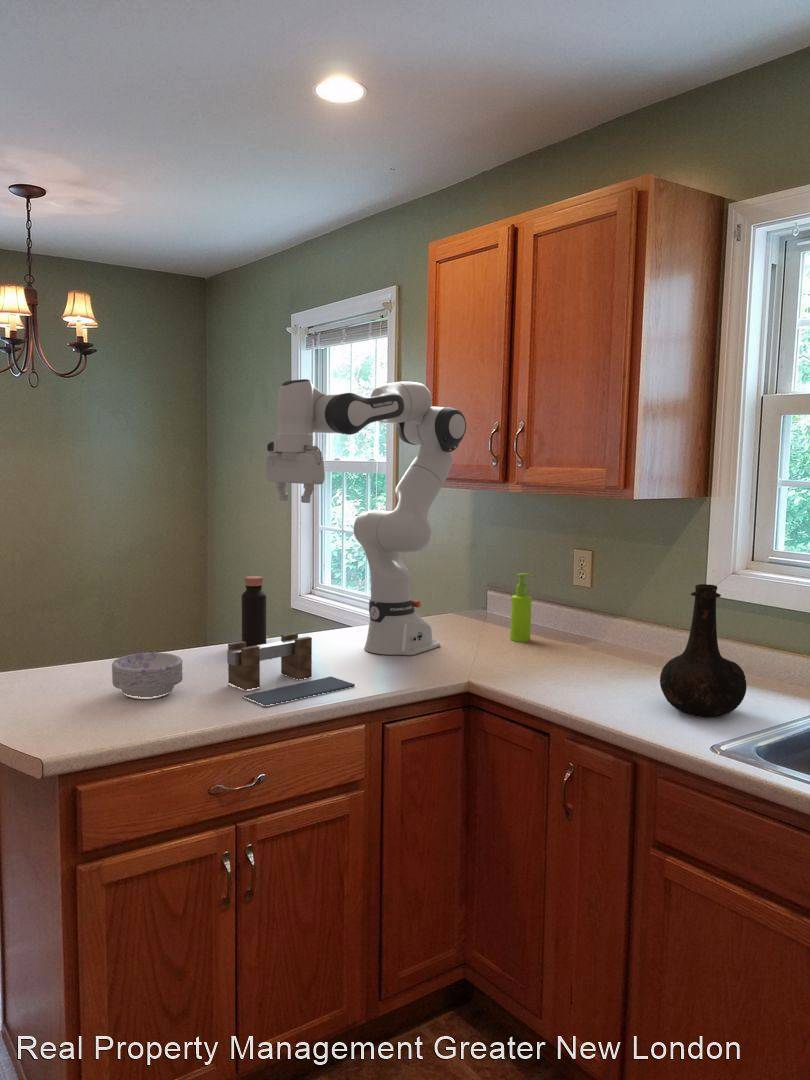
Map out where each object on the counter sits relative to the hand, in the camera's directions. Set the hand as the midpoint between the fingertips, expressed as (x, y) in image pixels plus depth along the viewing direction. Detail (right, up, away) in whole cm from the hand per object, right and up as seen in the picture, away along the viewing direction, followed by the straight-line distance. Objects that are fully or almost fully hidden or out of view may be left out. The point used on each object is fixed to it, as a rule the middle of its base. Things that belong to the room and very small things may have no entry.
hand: (294, 501), depth 206 cm
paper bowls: (-31, -45, -18) cm, 57 cm away
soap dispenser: (+63, -40, +44) cm, 86 cm away
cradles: (-5, -44, -6) cm, 44 cm away
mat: (+3, -45, -14) cm, 47 cm away
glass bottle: (+92, -47, -24) cm, 106 cm away
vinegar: (-15, -40, +28) cm, 51 cm away
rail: (-5, -38, -6) cm, 38 cm away
